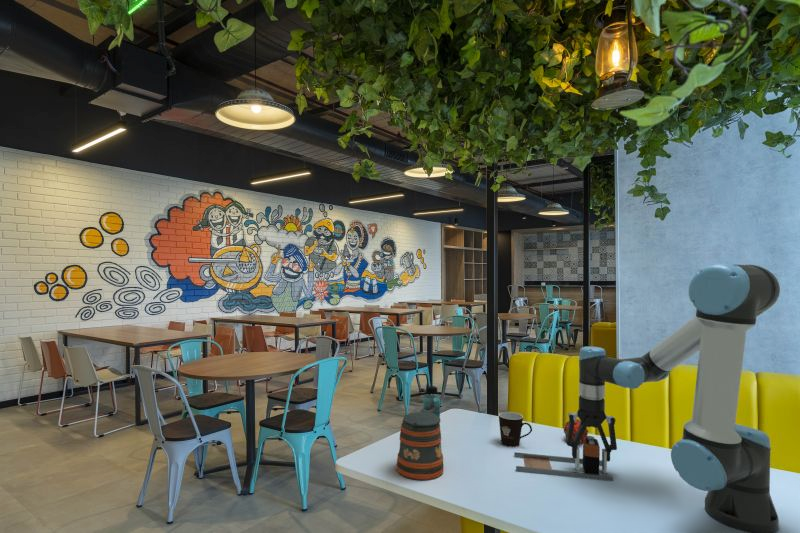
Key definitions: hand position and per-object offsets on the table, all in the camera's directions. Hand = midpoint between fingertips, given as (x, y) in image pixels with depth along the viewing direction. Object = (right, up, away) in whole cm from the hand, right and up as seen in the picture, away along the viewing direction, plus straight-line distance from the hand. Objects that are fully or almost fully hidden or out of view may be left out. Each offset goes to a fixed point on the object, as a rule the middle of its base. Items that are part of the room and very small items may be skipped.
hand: (590, 469), depth 142 cm
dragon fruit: (+5, -1, +24) cm, 25 cm away
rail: (-9, 0, +2) cm, 9 cm away
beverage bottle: (-49, 0, +21) cm, 53 cm away
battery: (0, -1, 0) cm, 1 cm away
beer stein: (-53, 0, 0) cm, 53 cm away
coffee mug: (-19, 0, +20) cm, 28 cm away
